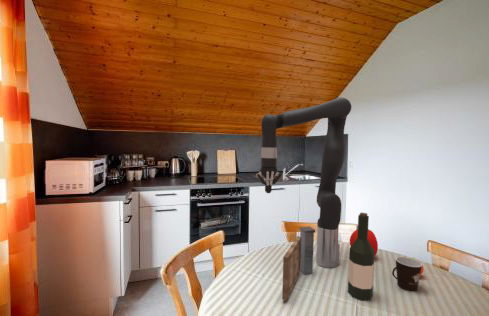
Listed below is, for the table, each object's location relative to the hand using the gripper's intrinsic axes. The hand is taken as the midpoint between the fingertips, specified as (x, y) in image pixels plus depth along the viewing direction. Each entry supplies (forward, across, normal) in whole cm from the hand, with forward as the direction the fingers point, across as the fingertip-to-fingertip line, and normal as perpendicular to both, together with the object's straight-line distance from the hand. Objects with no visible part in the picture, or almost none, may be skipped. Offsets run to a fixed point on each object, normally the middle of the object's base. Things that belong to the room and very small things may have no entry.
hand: (268, 192), depth 121 cm
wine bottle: (+31, +22, -38) cm, 54 cm away
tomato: (+31, +46, -12) cm, 57 cm away
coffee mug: (+31, +42, -38) cm, 65 cm away
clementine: (+31, +54, -32) cm, 70 cm away
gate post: (+31, +10, -19) cm, 38 cm away
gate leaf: (+30, 0, -28) cm, 41 cm away
